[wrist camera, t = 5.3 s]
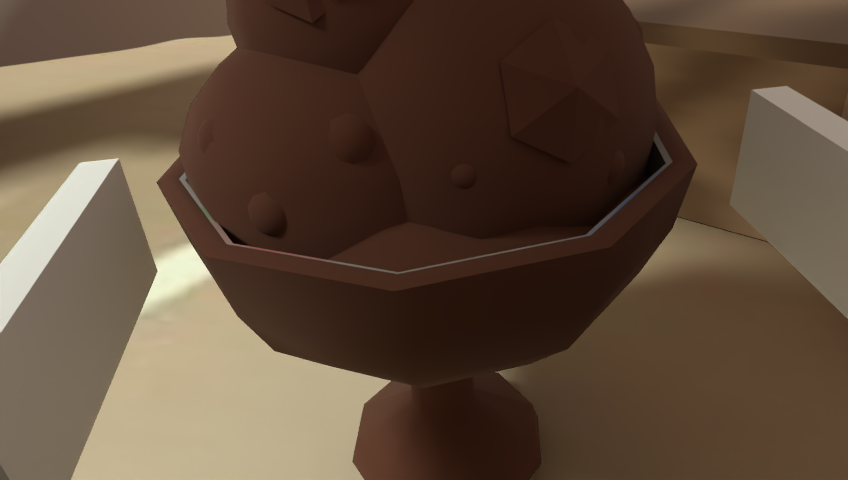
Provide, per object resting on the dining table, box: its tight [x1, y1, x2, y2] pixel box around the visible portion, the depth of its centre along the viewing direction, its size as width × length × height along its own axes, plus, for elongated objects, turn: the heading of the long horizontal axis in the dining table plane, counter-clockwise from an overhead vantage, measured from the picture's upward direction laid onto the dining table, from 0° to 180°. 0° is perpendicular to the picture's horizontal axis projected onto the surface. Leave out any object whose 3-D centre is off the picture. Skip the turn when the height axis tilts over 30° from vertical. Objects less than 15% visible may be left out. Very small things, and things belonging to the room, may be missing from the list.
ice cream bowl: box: [157, 0, 697, 480], centre depth 16 cm, size 11×11×15 cm
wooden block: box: [623, 0, 848, 241], centre depth 33 cm, size 12×17×8 cm
